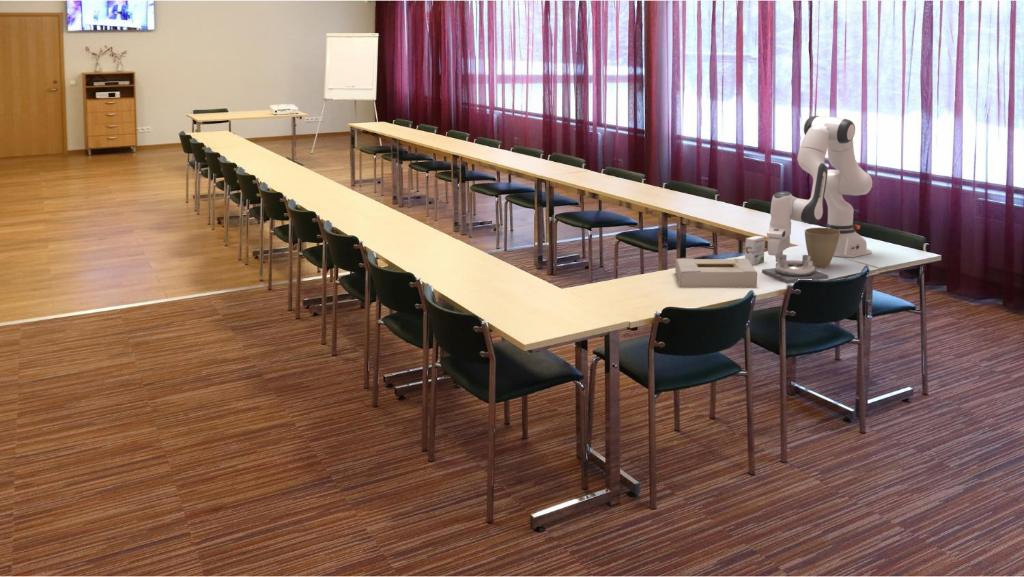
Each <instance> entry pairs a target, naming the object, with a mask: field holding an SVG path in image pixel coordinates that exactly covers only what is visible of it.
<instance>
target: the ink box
mask: <svg viewBox="0 0 1024 577" xmlns="http://www.w3.org/2000/svg"><path fill="white" fill-rule="evenodd" d="M765 247H766V237H765V236H761V235H754V236H751V237H746V238H745V248H744V249H745V252H744V259H749V261H750V263H751V264H752V266H755V265H758V264H760V263H761V264H762V263H764V262H765Z"/></svg>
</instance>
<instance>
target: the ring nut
mask: <svg viewBox="0 0 1024 577" xmlns="http://www.w3.org/2000/svg"><path fill="white" fill-rule="evenodd" d="M787 257H788V256H787V254H785V253H783V254H782V258H781V260H780V262H776V263H775V268H776V269H775V271H776V272H777V273H779V274H782V275H787V276H809V275H812V274H814V270H815V268H816V267H815V265H814V264H812V262H813V261H810V256H809V255H808V254H804V255H802V259H801V260H791V259H790V260H789V259H788V260H787Z"/></svg>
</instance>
